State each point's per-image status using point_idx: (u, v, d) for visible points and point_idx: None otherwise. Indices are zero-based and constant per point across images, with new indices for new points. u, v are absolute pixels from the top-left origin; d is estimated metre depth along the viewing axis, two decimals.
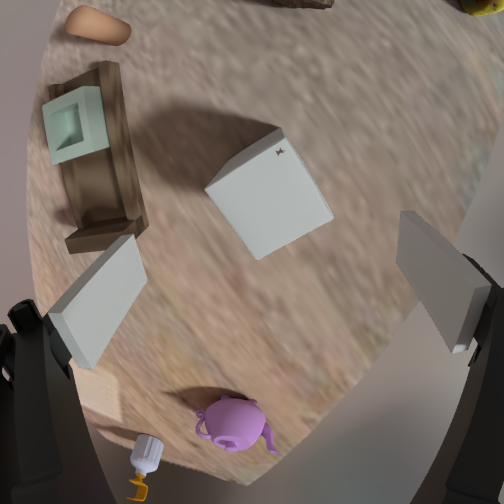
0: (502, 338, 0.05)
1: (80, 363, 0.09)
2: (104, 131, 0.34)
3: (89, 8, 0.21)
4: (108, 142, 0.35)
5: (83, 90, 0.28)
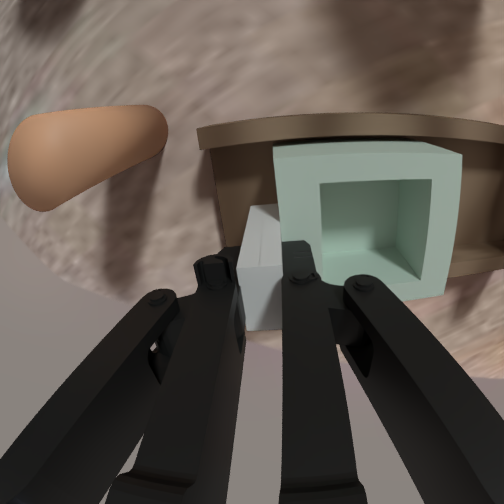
0: (295, 323, 0.07)
1: (253, 324, 0.11)
2: (393, 142, 0.14)
3: (17, 130, 0.08)
4: (415, 142, 0.14)
5: (287, 159, 0.12)
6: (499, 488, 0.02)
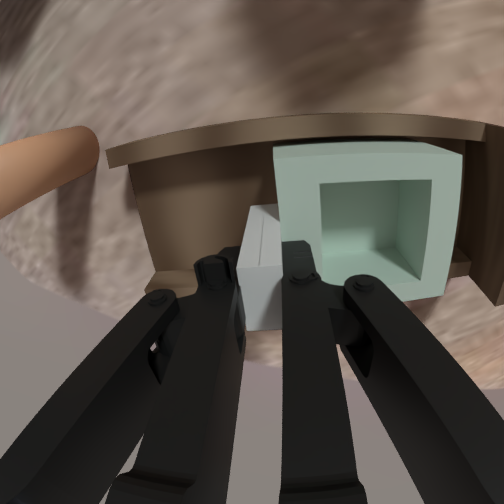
0: (295, 323, 0.07)
1: (253, 324, 0.11)
2: (393, 143, 0.14)
3: None
4: (415, 142, 0.14)
5: (288, 159, 0.12)
6: (499, 488, 0.02)
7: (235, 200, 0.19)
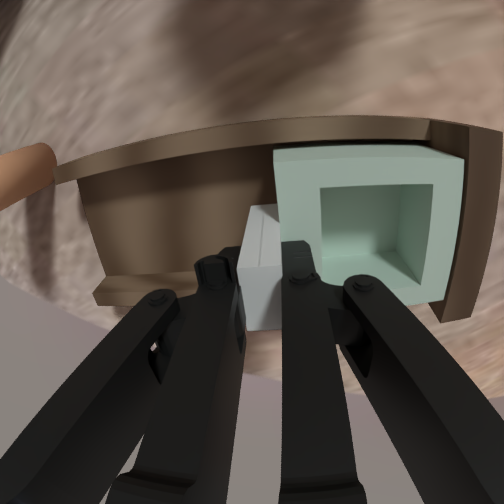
0: (295, 323, 0.07)
1: (253, 325, 0.11)
2: (395, 146, 0.14)
3: None
4: (416, 145, 0.14)
5: (288, 163, 0.12)
6: (499, 488, 0.02)
7: (167, 211, 0.20)
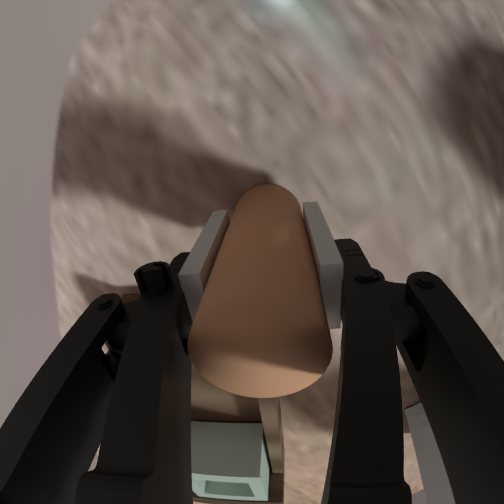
0: (358, 320, 0.07)
1: None
2: (267, 468, 0.26)
3: (323, 331, 0.07)
4: (268, 469, 0.27)
5: (259, 478, 0.20)
6: None
7: None
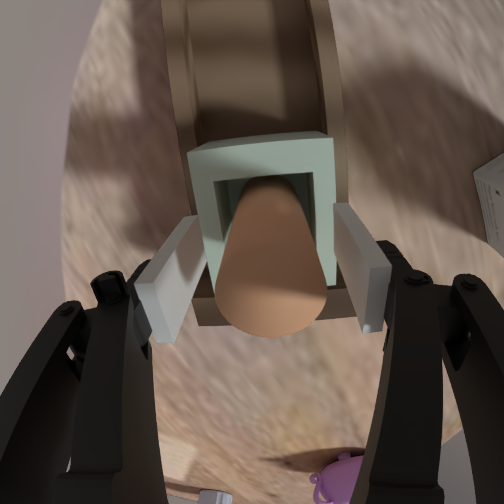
0: (407, 321, 0.06)
1: (160, 337, 0.10)
2: None
3: (319, 272, 0.10)
4: None
5: (331, 148, 0.15)
6: None
7: (256, 38, 0.17)
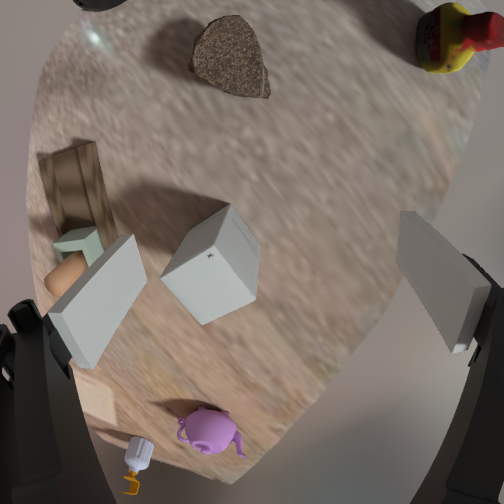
0: (502, 338, 0.05)
1: (80, 363, 0.09)
2: None
3: (58, 281, 0.37)
4: None
5: (85, 242, 0.42)
6: None
7: (77, 187, 0.45)
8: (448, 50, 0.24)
